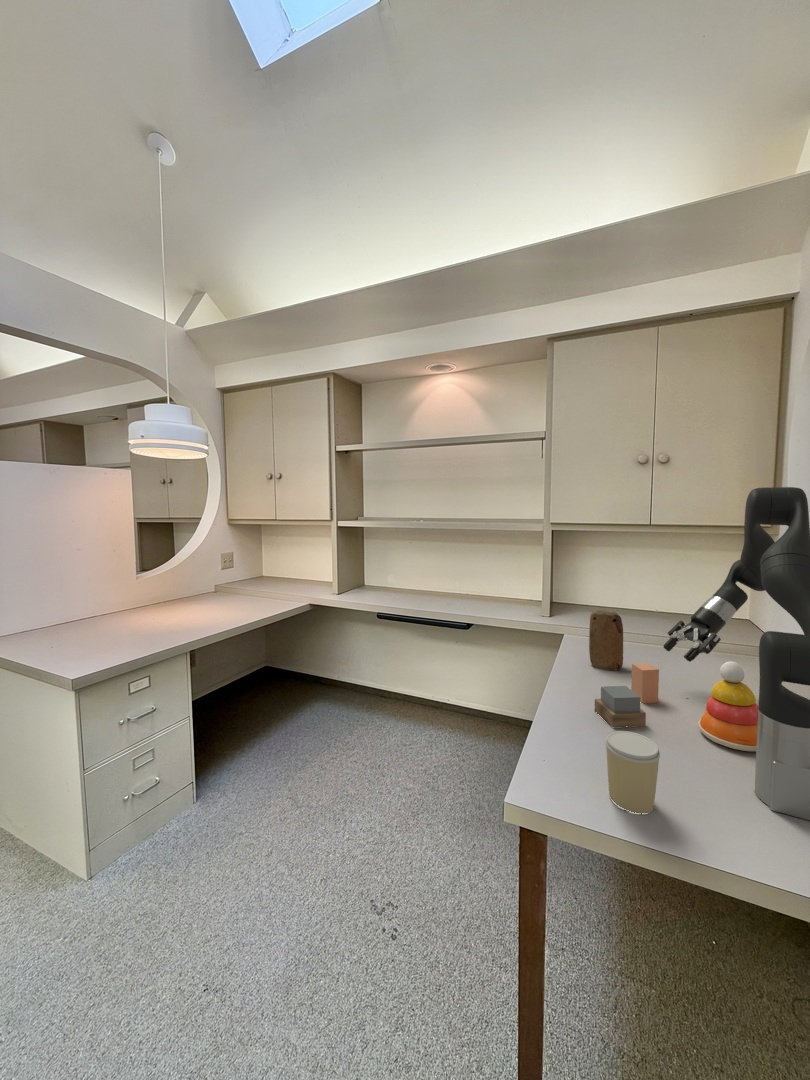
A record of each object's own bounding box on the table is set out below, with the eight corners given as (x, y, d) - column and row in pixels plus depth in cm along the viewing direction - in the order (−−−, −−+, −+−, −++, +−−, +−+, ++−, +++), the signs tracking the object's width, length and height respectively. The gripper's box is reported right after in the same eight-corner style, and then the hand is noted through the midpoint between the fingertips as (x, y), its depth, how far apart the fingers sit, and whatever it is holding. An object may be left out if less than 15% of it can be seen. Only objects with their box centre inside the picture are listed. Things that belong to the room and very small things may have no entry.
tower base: (645, 727, 109) (645, 712, 109) (612, 729, 108) (612, 714, 108) (625, 710, 118) (625, 697, 118) (594, 712, 117) (594, 698, 117)
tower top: (640, 711, 109) (640, 697, 109) (614, 712, 109) (614, 698, 109) (625, 699, 116) (625, 685, 116) (600, 700, 116) (600, 686, 116)
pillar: (658, 702, 121) (658, 669, 121) (641, 703, 121) (642, 670, 120) (646, 694, 126) (647, 663, 126) (631, 695, 126) (631, 663, 125)
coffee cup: (639, 784, 87) (641, 728, 86) (669, 817, 77) (671, 756, 76) (595, 786, 86) (596, 730, 85) (620, 819, 77) (621, 758, 76)
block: (587, 666, 149) (587, 612, 148) (593, 660, 155) (594, 607, 153) (620, 673, 142) (621, 616, 141) (625, 666, 148) (626, 612, 147)
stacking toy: (763, 732, 105) (767, 657, 103) (778, 763, 92) (783, 678, 91) (695, 719, 112) (697, 648, 110) (700, 745, 100) (703, 667, 98)
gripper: (687, 601, 130) (651, 638, 130) (725, 612, 116) (685, 654, 116) (702, 617, 131) (667, 654, 131) (742, 630, 117) (702, 671, 117)
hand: (675, 654), depth 123 cm, fingers open, 8 cm apart
